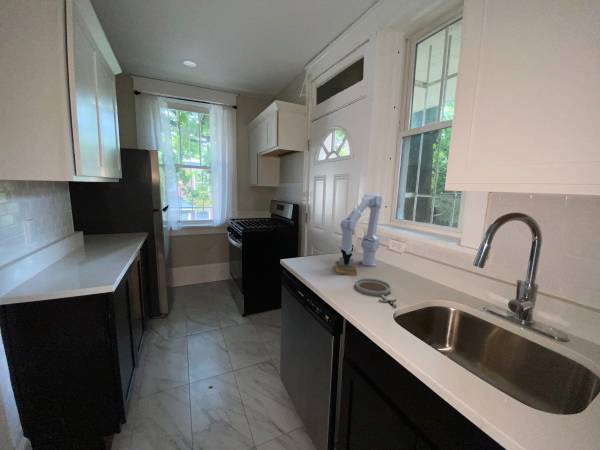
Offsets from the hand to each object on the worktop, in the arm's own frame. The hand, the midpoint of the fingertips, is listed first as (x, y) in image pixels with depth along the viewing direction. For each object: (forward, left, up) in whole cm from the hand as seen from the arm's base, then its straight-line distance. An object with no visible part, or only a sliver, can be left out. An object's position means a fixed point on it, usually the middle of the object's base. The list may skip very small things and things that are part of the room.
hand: (345, 263), depth 146 cm
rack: (0, 0, -4) cm, 4 cm away
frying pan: (+30, +12, -5) cm, 33 cm away
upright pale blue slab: (0, 0, -4) cm, 4 cm away
